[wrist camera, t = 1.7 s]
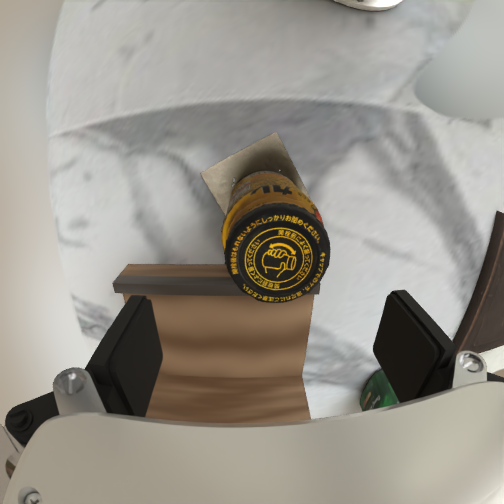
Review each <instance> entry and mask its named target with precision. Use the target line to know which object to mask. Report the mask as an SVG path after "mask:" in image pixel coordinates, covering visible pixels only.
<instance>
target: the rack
mask: <svg viewBox="0 0 504 504" xmlns="http://www.w3.org/2000/svg"><path fill="white" fill-rule="evenodd" d="M113 287H114V291H115V293H123V296H124V300H125V304H126V302H127V300H128V299H129V297H130V296H131V295H145V296H146V297H147V299H150V300H151V301H152V306H153V311H154V316H155V321H156V325H157V330H158V334H159V339H160V343H161V347H162V351H163V361H162V364H161V367H160V370H159V373H158V376H157V380H156V383H155V386H154V389H153V393H152V396H151V399H150V403H149V406H148V409H147V413H146V416H145V418H153V419H162V420H173V421H186V422H201V423H272V422H288V421H300V420H310V419H311V417H310V412H309V407H308V403H307V398H306V393H305V388H304V383H303V379H302V372H303V366H304V360H305V354H306V348H307V342H308V336H309V329H310V322H311V315H312V308H313V300H314V294H319V291H320V282H319V283H318V285H317V286H315V287H314V288H313V289H312V291H310V293H307V294H306V295H304V296H301V297H299V298H296V299H294V300H292V301H289V302H284V303H266V302H261V301H257V300H256V299H254V298H253V297H251V296H250V295H248V294H245V293H243V292H242V291H241V290H240V289H239V288H238V286H237V285H236V284H235V283H234V281H233V279H232V277H231V276H230V274H229V273H228V269H227V267H226V265H175V264H128V265H127V266H126V267H125V269H124V270H123V271H122V272H121V273H120V275H119V276H118V277H117V278H116V280H115V281H114V282H113Z"/></svg>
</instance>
